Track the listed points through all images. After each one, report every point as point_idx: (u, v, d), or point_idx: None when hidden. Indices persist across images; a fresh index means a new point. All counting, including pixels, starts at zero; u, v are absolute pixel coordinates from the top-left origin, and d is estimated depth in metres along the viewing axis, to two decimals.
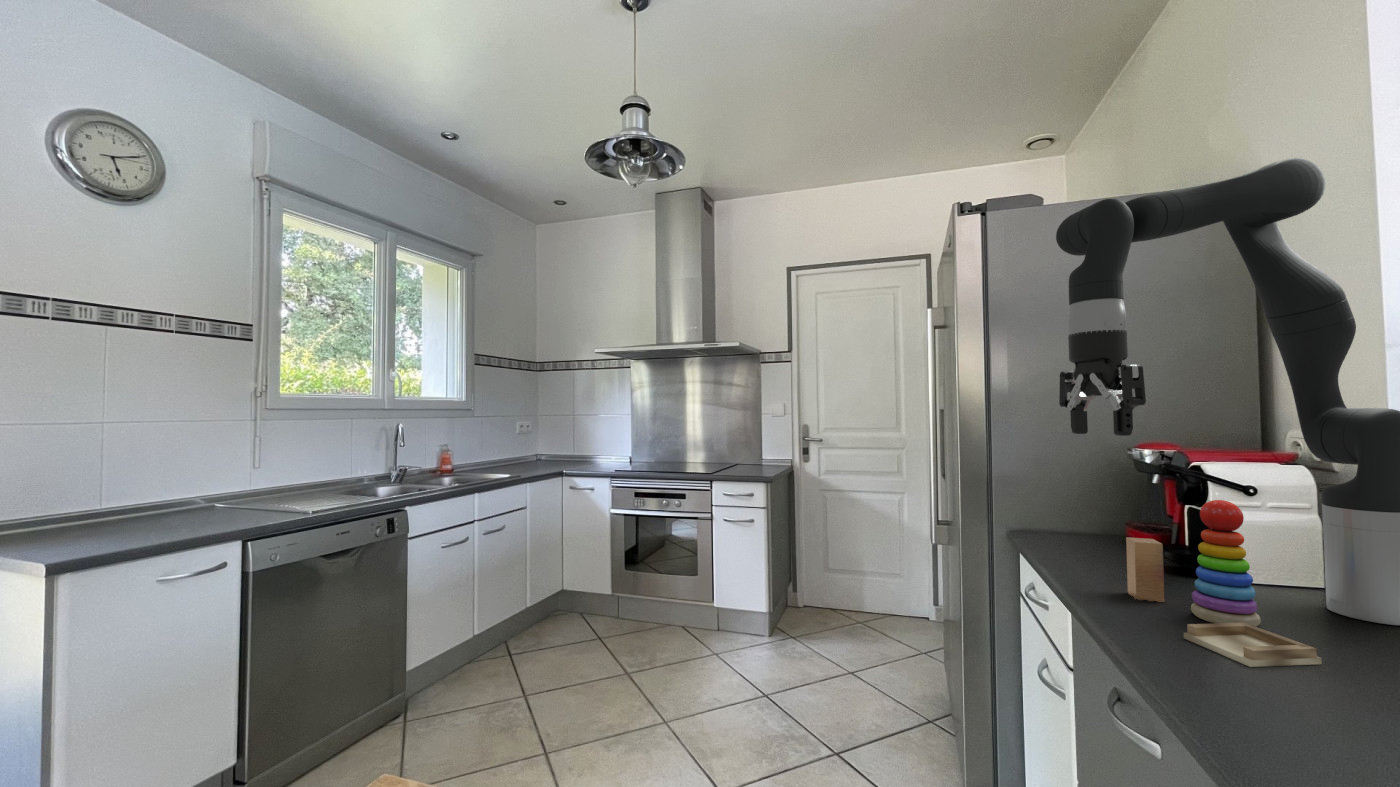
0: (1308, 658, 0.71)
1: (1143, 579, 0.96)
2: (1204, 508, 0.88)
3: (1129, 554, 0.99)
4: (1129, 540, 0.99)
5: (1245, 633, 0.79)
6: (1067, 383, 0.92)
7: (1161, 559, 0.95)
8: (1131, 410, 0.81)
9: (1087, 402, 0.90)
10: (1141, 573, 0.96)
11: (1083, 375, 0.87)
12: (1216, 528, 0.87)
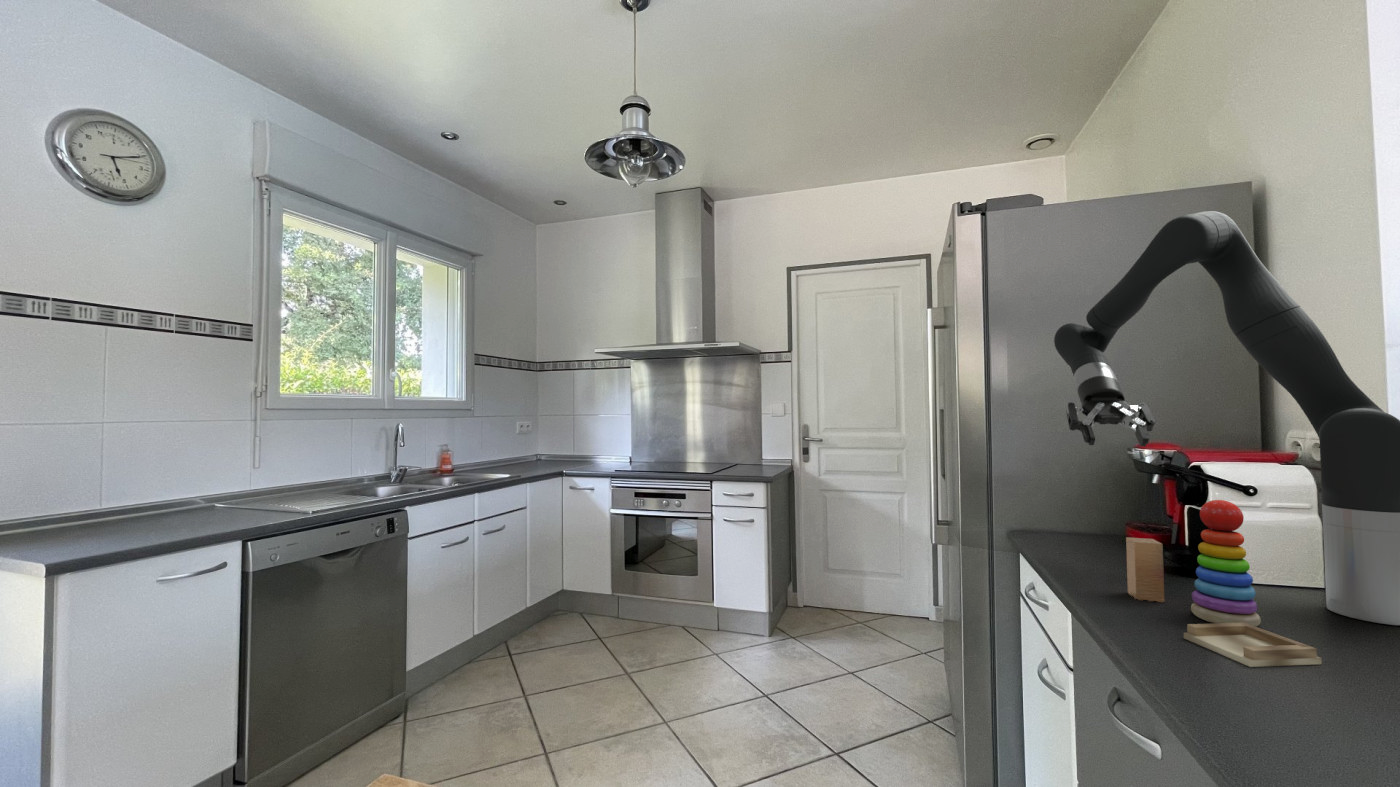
0: (1308, 658, 0.71)
1: (1143, 579, 0.96)
2: (1204, 508, 0.88)
3: (1129, 554, 0.99)
4: (1129, 540, 0.99)
5: (1245, 633, 0.79)
6: (1139, 415, 1.13)
7: (1161, 559, 0.95)
8: (1082, 427, 1.13)
9: (1133, 421, 1.11)
10: (1141, 573, 0.96)
11: None
12: (1216, 528, 0.87)
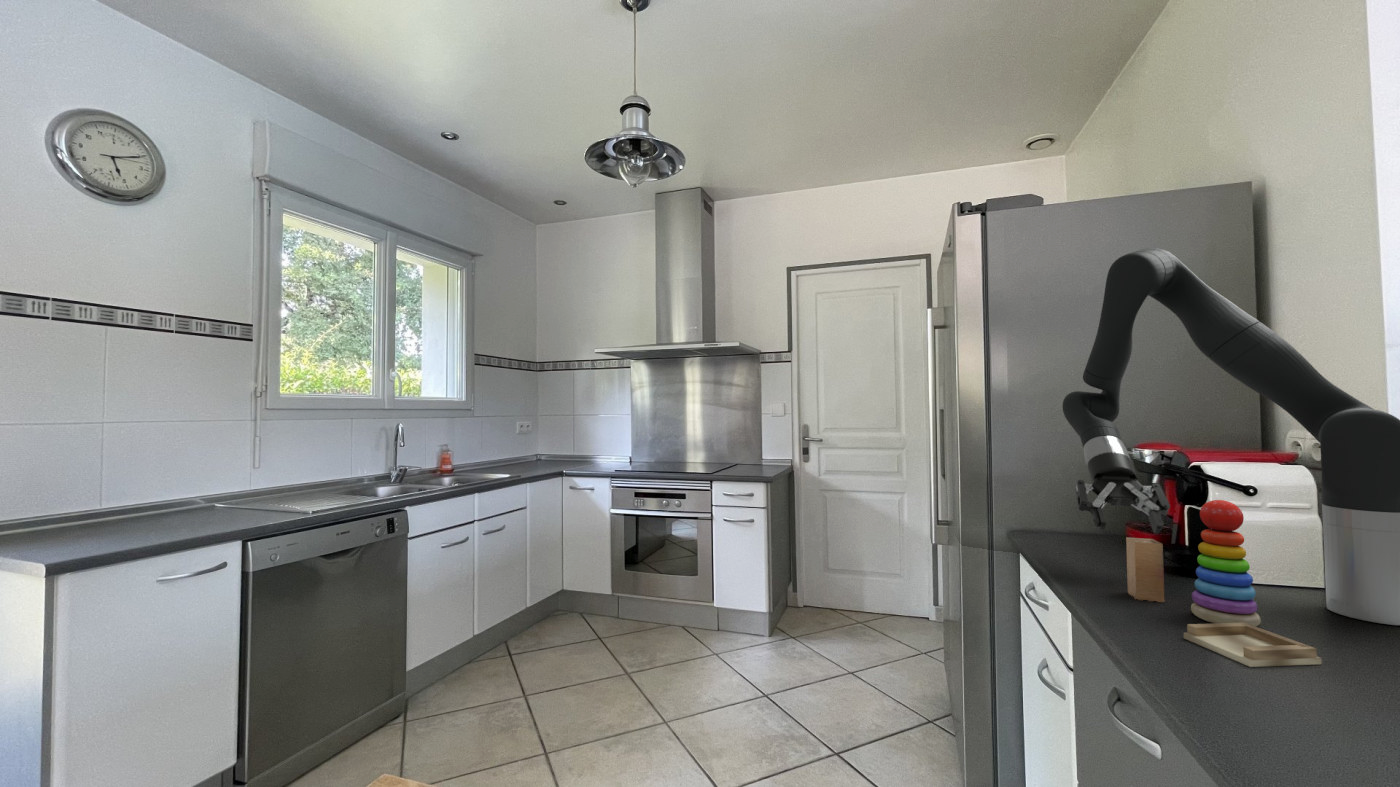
0: (1308, 658, 0.71)
1: (1143, 579, 0.96)
2: (1204, 508, 0.88)
3: (1129, 554, 0.99)
4: (1129, 540, 0.99)
5: (1245, 633, 0.79)
6: (1153, 497, 1.08)
7: (1161, 559, 0.95)
8: (1091, 509, 1.08)
9: (1146, 505, 1.05)
10: (1142, 573, 0.96)
11: None
12: (1216, 528, 0.87)
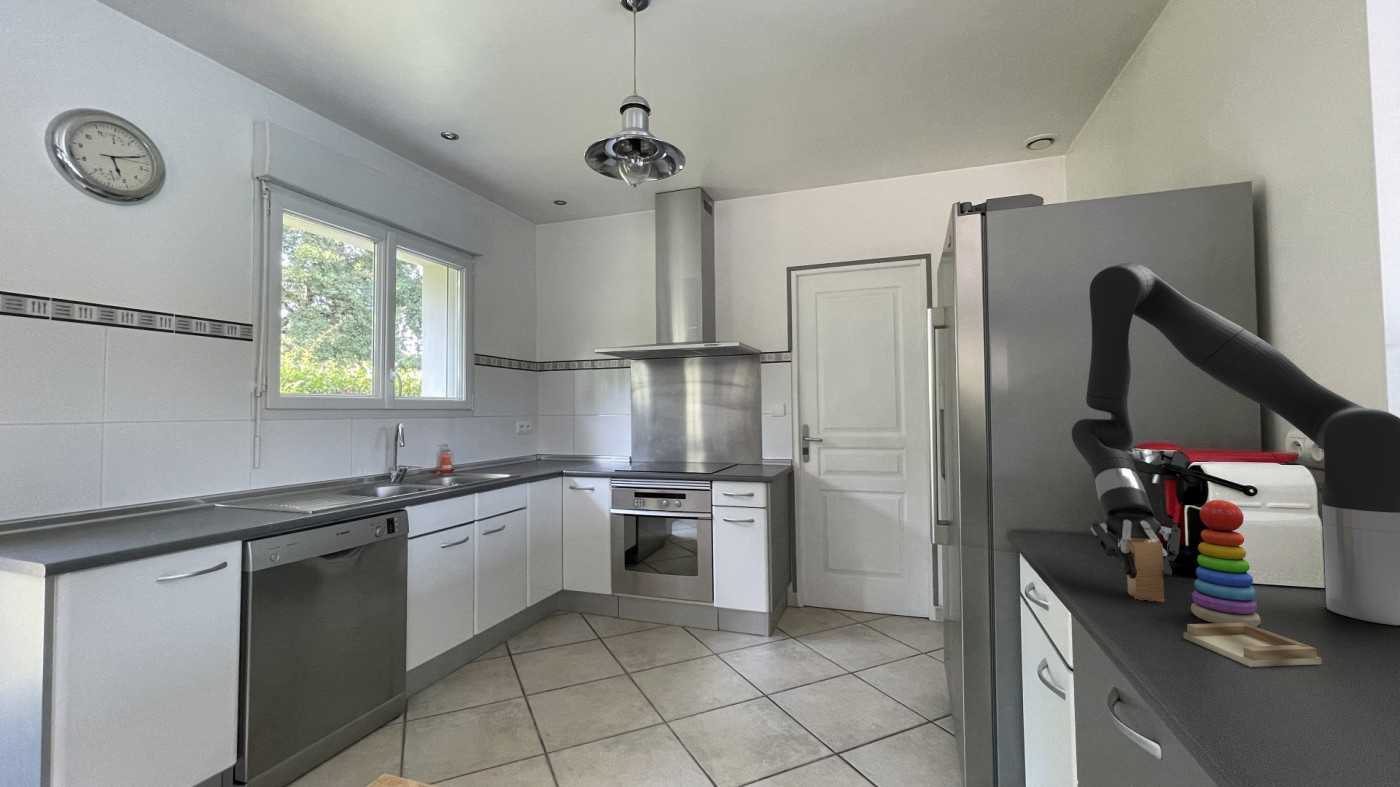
0: (1308, 658, 0.71)
1: (1143, 579, 0.96)
2: (1204, 508, 0.88)
3: None
4: (1129, 540, 0.99)
5: (1245, 633, 0.79)
6: (1168, 540, 1.00)
7: (1161, 559, 0.95)
8: (1120, 555, 0.99)
9: None
10: (1141, 573, 0.96)
11: None
12: (1216, 528, 0.87)
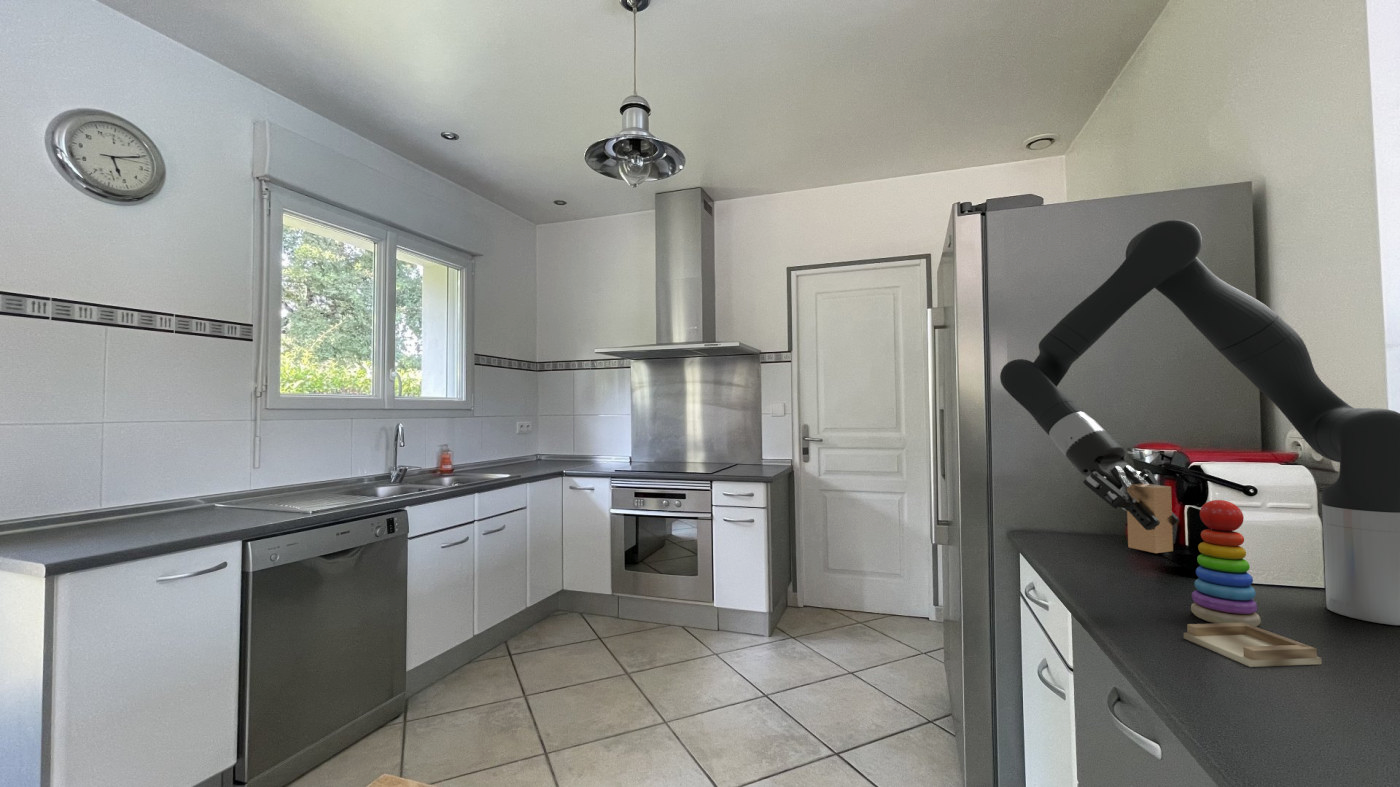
0: (1308, 658, 0.71)
1: (1159, 529, 0.85)
2: (1204, 508, 0.88)
3: None
4: (1137, 487, 0.87)
5: (1245, 633, 0.79)
6: None
7: (1170, 503, 0.86)
8: (1132, 505, 0.87)
9: None
10: None
11: None
12: (1216, 528, 0.87)
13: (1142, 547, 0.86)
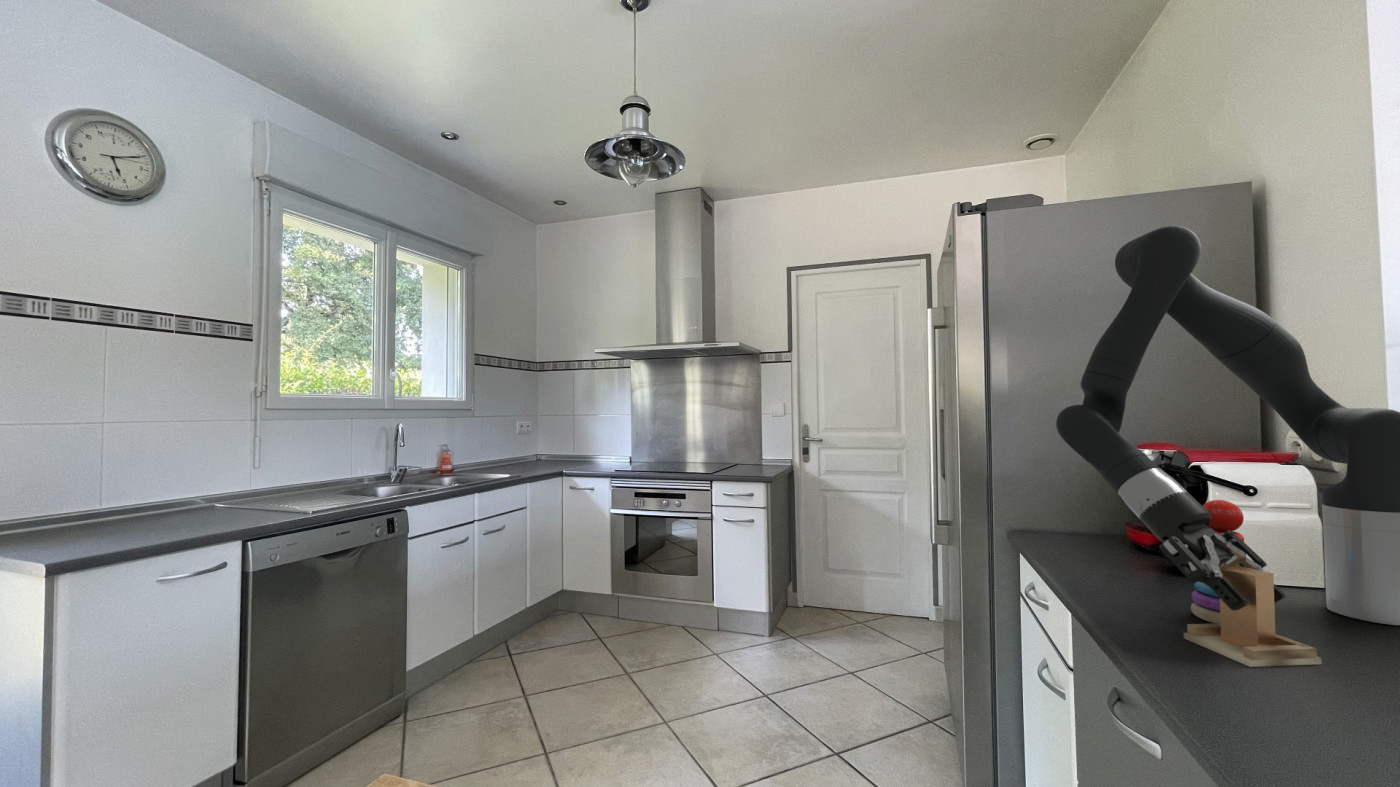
0: (1308, 658, 0.71)
1: (1262, 623, 0.74)
2: None
3: None
4: (1232, 573, 0.76)
5: None
6: None
7: (1273, 593, 0.75)
8: (1214, 581, 0.75)
9: (1247, 564, 0.78)
10: (1261, 615, 0.74)
11: None
12: (1216, 528, 0.87)
13: (1240, 643, 0.75)
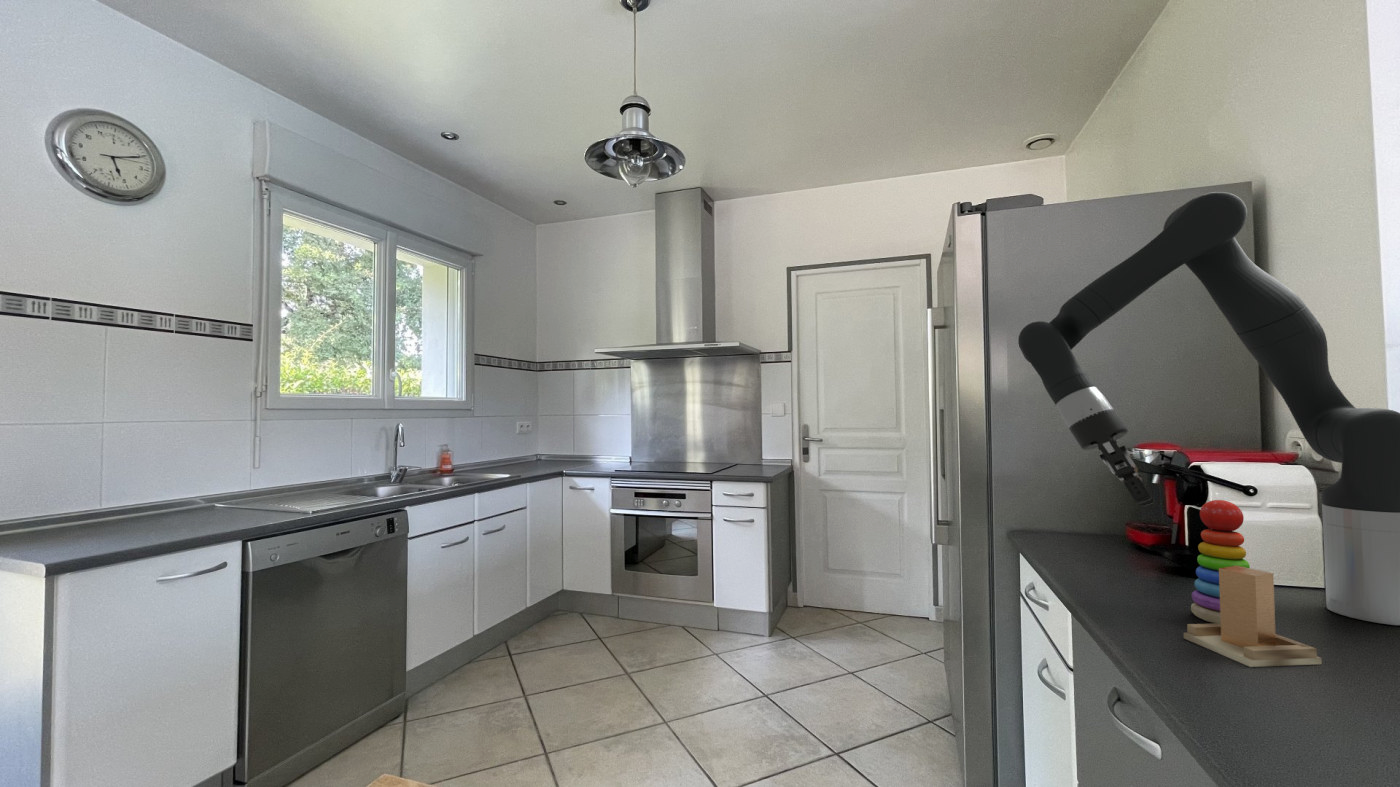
0: (1308, 658, 0.71)
1: (1262, 623, 0.74)
2: (1204, 508, 0.88)
3: (1232, 591, 0.76)
4: (1232, 573, 0.76)
5: None
6: None
7: (1273, 593, 0.75)
8: (1133, 478, 0.89)
9: None
10: (1261, 615, 0.74)
11: None
12: (1216, 528, 0.87)
13: (1240, 643, 0.75)
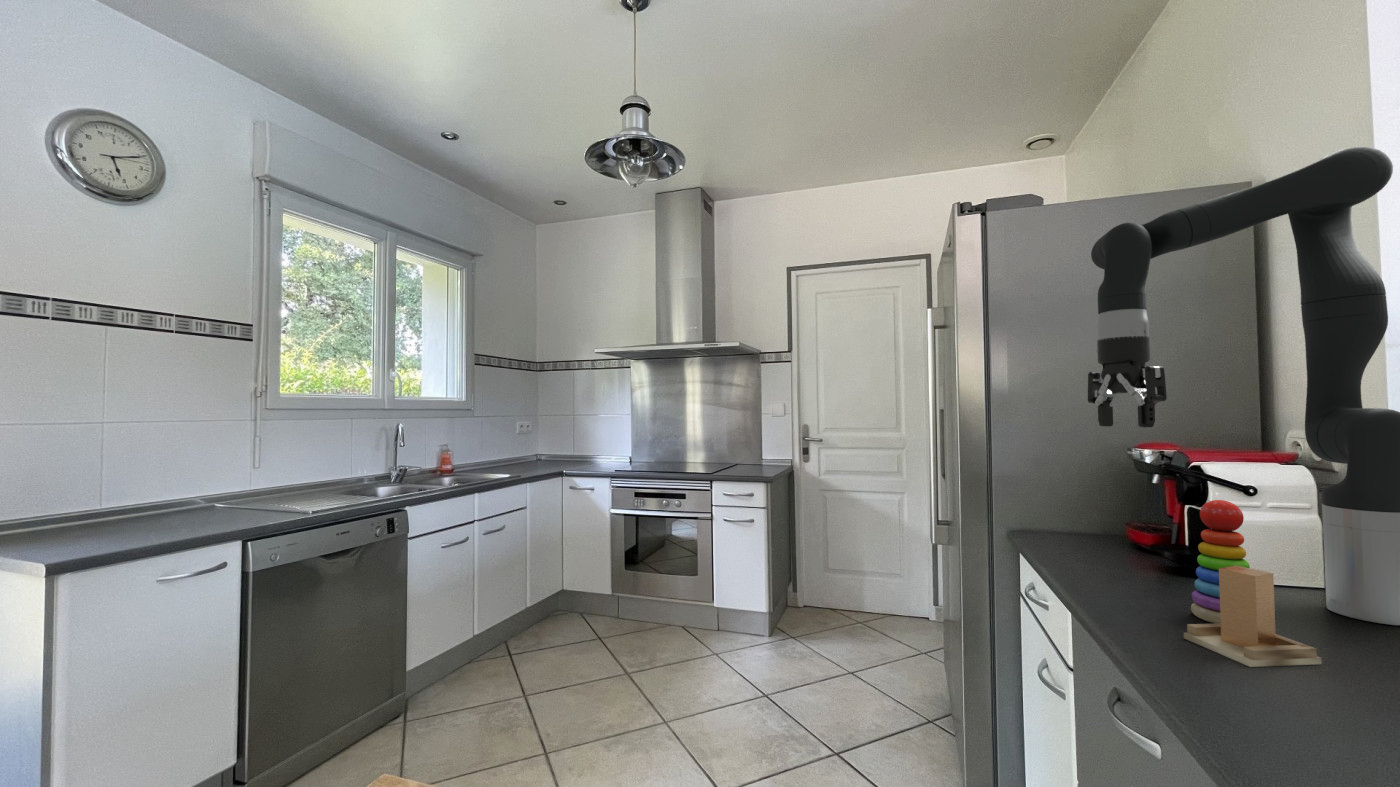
0: (1308, 658, 0.71)
1: (1262, 623, 0.74)
2: (1204, 508, 0.88)
3: (1232, 591, 0.76)
4: (1232, 573, 0.76)
5: None
6: (1095, 382, 1.05)
7: (1273, 593, 0.75)
8: (1153, 405, 0.94)
9: (1113, 399, 1.03)
10: (1261, 615, 0.74)
11: (1110, 375, 1.00)
12: (1216, 528, 0.87)
13: (1240, 643, 0.75)
